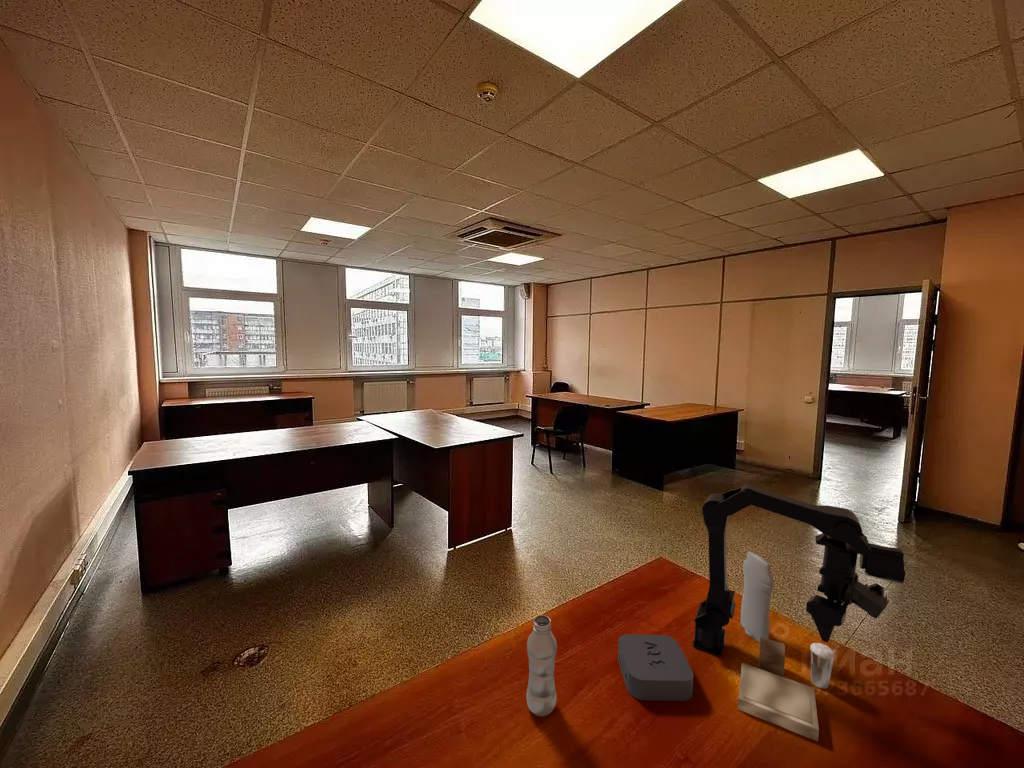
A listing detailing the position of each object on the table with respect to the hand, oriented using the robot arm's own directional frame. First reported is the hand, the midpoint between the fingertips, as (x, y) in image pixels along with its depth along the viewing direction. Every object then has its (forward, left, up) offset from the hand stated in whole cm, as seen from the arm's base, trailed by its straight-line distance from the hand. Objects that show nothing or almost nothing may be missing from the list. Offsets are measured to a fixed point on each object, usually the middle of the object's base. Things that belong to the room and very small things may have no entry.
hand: (831, 632), depth 95 cm
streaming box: (-34, -17, -14) cm, 41 cm away
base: (-10, -11, -14) cm, 20 cm away
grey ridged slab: (-15, +12, -14) cm, 23 cm away
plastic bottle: (-53, -39, -14) cm, 67 cm away
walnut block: (-11, 0, -14) cm, 17 cm away
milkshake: (-1, +1, -14) cm, 14 cm away
